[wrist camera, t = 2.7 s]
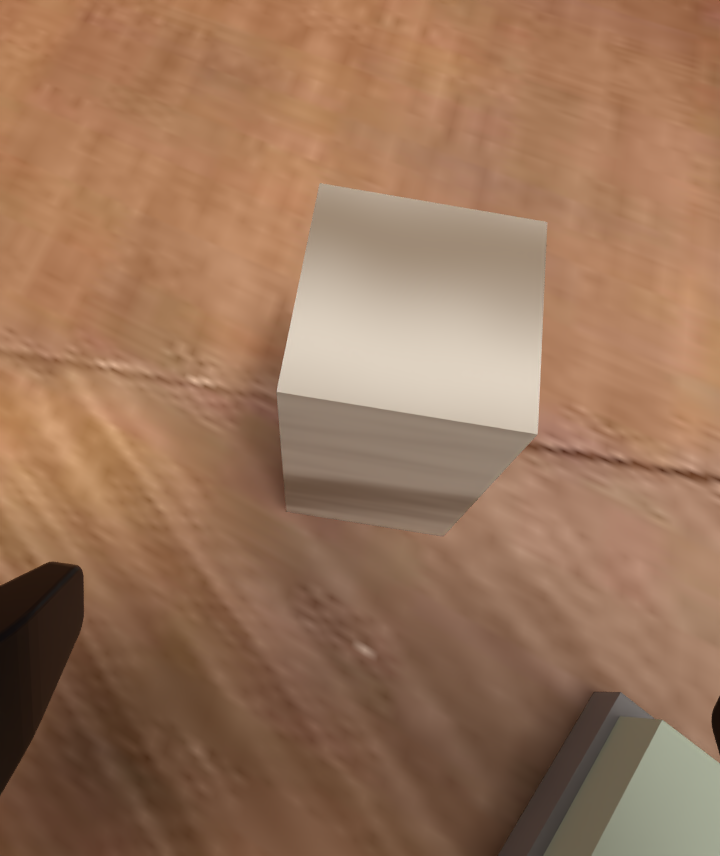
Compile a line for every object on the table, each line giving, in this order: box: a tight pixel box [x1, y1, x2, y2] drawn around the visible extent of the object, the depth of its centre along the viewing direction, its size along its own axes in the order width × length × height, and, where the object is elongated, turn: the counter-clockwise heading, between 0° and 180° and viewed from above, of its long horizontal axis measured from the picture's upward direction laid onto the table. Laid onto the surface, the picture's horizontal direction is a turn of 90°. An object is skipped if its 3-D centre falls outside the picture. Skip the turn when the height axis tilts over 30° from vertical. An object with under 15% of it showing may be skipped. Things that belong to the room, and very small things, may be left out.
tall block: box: [277, 183, 547, 536], centre depth 20 cm, size 6×6×10 cm
